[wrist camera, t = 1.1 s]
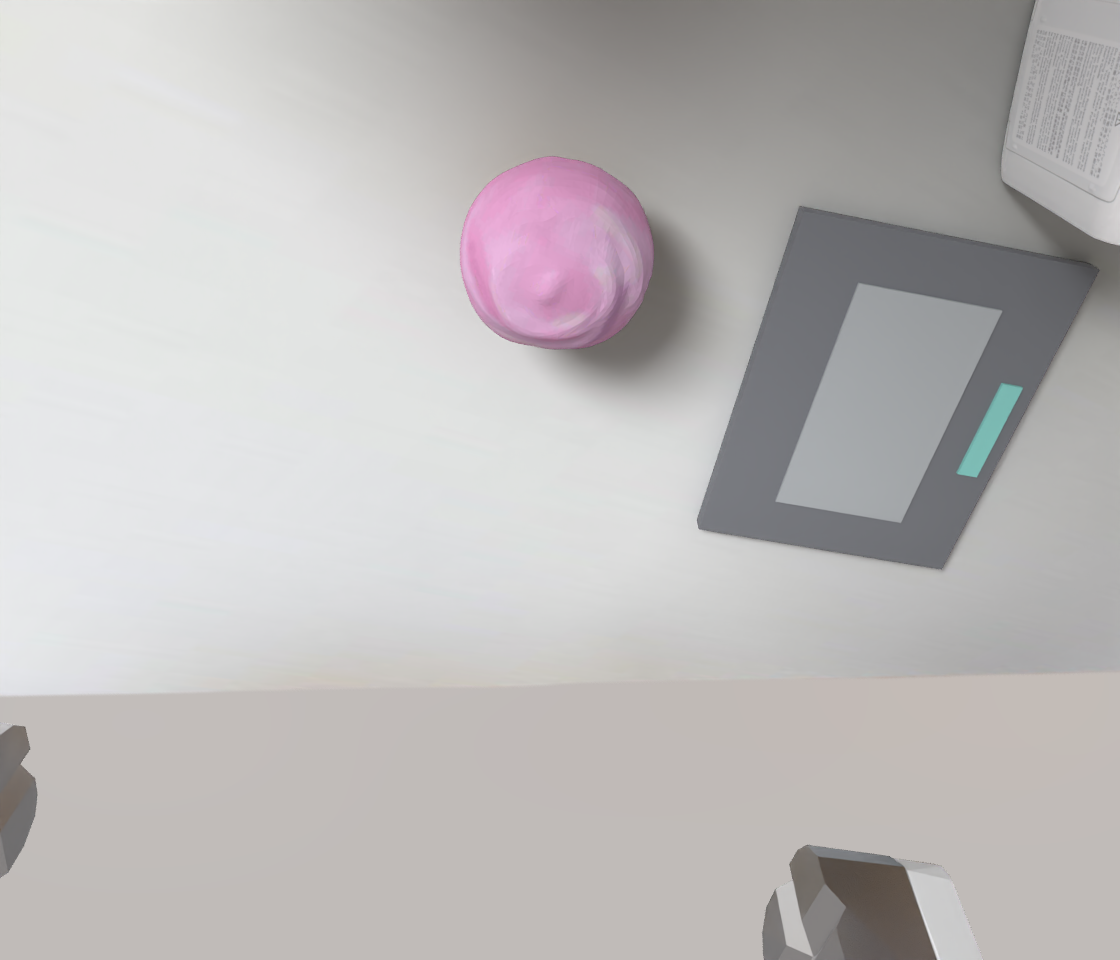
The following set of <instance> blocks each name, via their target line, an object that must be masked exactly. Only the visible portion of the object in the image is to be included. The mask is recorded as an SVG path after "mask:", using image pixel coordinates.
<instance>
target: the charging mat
mask: <svg viewBox="0 0 1120 960" xmlns="http://www.w3.org/2000/svg"><path fill="white" fill-rule="evenodd" d="M1098 272H1099V269H1097V268H1096V267H1094V266H1093V265H1091V264H1088V263H1083V262H1078V261H1073V260H1068V259H1063V258H1058V257H1053V256H1048V255H1043V254H1038V253H1033V252H1028V251H1023V250H1018V249H1013V248H1008V247H1003V246H998V245H993V244H988V243H983V242H977V241H972V240H967V239H962V238H957V237H952V236H947V235H942V234H937V233H932V232H927V231H922V230H917V229H912V228H907V227H902V226H897V225H892V224H887V223H882V222H877V221H872V220H867V219H862V218H857V217H852V216H847V215H842V214H837V213H831V212H826V211H821V210H816V209H811V208H806V207H801V206H800V207H799V210H798V213H797V216H796V219H795V222H794V225H793V229H792V232H791V235H790V238H789V241H788V244H787V247H786V250H785V253H784V256H783V259H782V262H781V265H780V268H779V271H778V274H777V277H776V280H775V283H774V286H773V290H772V293H771V296H770V299H769V302H768V305H767V308H766V311H765V314H764V317H763V320H762V323H761V326H760V329H759V332H758V335H757V338H756V341H755V344H754V347H753V351H752V354H751V357H750V360H749V363H748V366H747V369H746V372H745V375H744V378H743V381H742V384H741V387H740V390H739V393H738V396H737V399H736V402H735V405H734V408H733V412H732V415H731V418H730V421H729V424H728V427H727V430H726V433H725V436H724V439H723V442H722V445H721V448H720V451H719V454H718V457H717V460H716V463H715V466H714V470H713V473H712V476H711V479H710V482H709V485H708V488H707V491H706V494H705V497H704V500H703V503H702V506H701V509H700V512H699V515H698V518H697V523H698V528H699V529H701V530H707V531H713V532H719V533H725V534H731V535H737V536H743V537H749V538H755V539H761V540H767V541H773V542H779V543H785V544H791V545H797V546H803V547H809V548H815V549H821V550H827V551H833V552H839V553H845V554H851V555H857V556H863V557H869V558H875V559H881V560H887V561H893V562H899V563H905V564H911V565H917V566H924V567H930V568H936V569H942V568H943V566H944V564H945V562H946V560H947V558H948V556H949V555H950V553H951V551H952V549H953V547H954V545H955V543H956V541H957V539H958V537H959V536H960V534H961V532H962V530H963V528H964V526H965V524H966V522H967V520H968V519H969V517H970V515H971V513H972V511H973V509H974V507H975V505H976V503H977V501H978V500H979V498H980V496H981V494H982V492H983V490H984V488H985V486H986V484H987V483H988V481H989V479H990V477H991V475H992V473H993V471H994V469H995V467H996V465H997V464H998V462H999V460H1000V458H1001V456H1002V454H1003V452H1004V450H1005V448H1006V447H1007V445H1008V443H1009V441H1010V439H1011V437H1012V435H1013V433H1014V431H1015V429H1016V428H1017V426H1018V424H1019V422H1020V420H1021V418H1022V416H1023V414H1024V412H1025V411H1026V409H1027V407H1028V405H1029V403H1030V401H1031V399H1032V397H1033V395H1034V393H1035V392H1036V390H1037V388H1038V386H1039V384H1040V382H1041V380H1042V378H1043V376H1044V375H1045V373H1046V371H1047V369H1048V367H1049V365H1050V363H1051V361H1052V359H1053V357H1054V356H1055V354H1056V352H1057V350H1058V348H1059V346H1060V344H1061V342H1062V340H1063V339H1064V337H1065V335H1066V333H1067V331H1068V329H1069V327H1070V325H1071V323H1072V321H1073V320H1074V318H1075V316H1076V314H1077V312H1078V310H1079V308H1080V306H1081V304H1082V303H1083V301H1084V299H1085V297H1086V295H1087V293H1088V291H1089V289H1090V287H1091V285H1092V284H1093V282H1094V280H1095V278H1096V276H1097V274H1098Z"/></svg>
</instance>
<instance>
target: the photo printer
mask: <svg viewBox="0 0 1120 960" xmlns="http://www.w3.org/2000/svg"><path fill="white" fill-rule="evenodd" d="M1001 177H1002V180H1003V181H1004V182H1005V183H1006V184H1007V185H1009V186H1011V187H1012V188H1014V189H1016V190H1017V191H1019V192H1021V193H1022V194H1024V195H1026V196H1027V197H1029V198H1030V199H1032V200H1034V201H1035V202H1037V203H1038V204H1040V205H1042V206H1043V207H1045V208H1046V209H1048V210H1050V211H1051V212H1053V213H1055V214H1056V215H1058V216H1059V217H1061V218H1062V219H1064V220H1066V221H1067V222H1069V223H1070V224H1072V225H1074V226H1075V227H1077V228H1078V229H1080V230H1082V231H1083V232H1085V233H1086V234H1088V235H1090V236H1091V237H1093V238H1095V239H1098V240H1101V241H1104V242H1106V243H1110V244H1114V245H1119V246H1120V0H1036V1H1035V5H1034V9H1033V13H1032V17H1031V21H1030V25H1029V29H1028V33H1027V37H1026V42H1025V46H1024V50H1023V55H1022V59H1021V63H1020V68H1019V73H1018V77H1017V82H1016V86H1015V91H1014V96H1013V101H1012V105H1011V110H1010V114H1009V120H1008V123H1007V129H1006V135H1005V140H1004V146H1003V153H1002V161H1001Z"/></svg>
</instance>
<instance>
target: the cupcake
mask: <svg viewBox="0 0 1120 960" xmlns="http://www.w3.org/2000/svg"><path fill="white" fill-rule="evenodd" d="M653 262H654V245H653V239H652V235H651V231H650V227H649V224H648V221H647V218H646V215H645V213H644V210H643V208H642V206H641V204H640V202H639V201H638V199H637V198H636V196H635V195H634V194H633V192H632V191H631V190H630V189H629V188H628V187H626V186H625V185H624V184H623V183H622V182H620V181H619V180H617V179H616V178H614V177H613V176H612V175H610V174H608V173H607V172H605V171H604V170H602V169H600V168H598V167H596V166H594V165H592V164H589V163H586V162H582V161H579V160H571V159H566V158H562V157H555V156H552V157H543V158H538V159H534V160H532V161H529V162H526V163H524V164H521V165H519V166H516V167H514V168H512V169H510V170H508V171H506V172H504V173H502V174H500V175H499V176H497V177H496V178H494V179H493V180H492V181H491V182H490V183H488V184H487V185H486V186H485V188H484V189H483V190H482V191H481V192H480V194H479V195H478V196H477V198H476V199H475V201H474V202H473V204H472V206H471V207H470V209H469V211H468V214H467V217H466V220H465V222H464V227H463V232H462V236H461V246H460V265H461V272H462V278H463V281H464V284H465V288H466V291H467V294H468V297H469V299H470V302H471V304H472V306H473V308H474V309H475V311H476V313H477V314H478V316H479V317H480V319H481V320H482V321H483V322H484V323H485V324H486V325H487V326H488V327H489V328H490V329H491V330H493V331H494V332H495V333H496V334H498V335H499V336H501V337H502V338H505V339H507V340H509V341H512V342H516V343H519V344H524V345H530V346H536V347H540V348H545V349H579V348H585V347H590V346H593V345H596V344H599V343H601V342H603V341H605V340H607V339H609V338H611V337H612V336H614V335H615V334H616V333H618V332H619V331H620V330H621V329H622V328H623V327H624V326H625V325H626V324H627V323H628V322H629V321H630V320H631V318H632V317H633V316H634V314H635V313H636V311H637V310H638V308H639V306H640V305H641V303H642V301H643V300H644V294H645V292H646V290H647V288H648V284H649V280H650V278H651V276H652V271H653Z"/></svg>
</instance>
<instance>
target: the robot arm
mask: <svg viewBox="0 0 1120 960" xmlns="http://www.w3.org/2000/svg"><path fill="white" fill-rule="evenodd" d="M29 750H30V746H29V741H28V737H27V733H26V729H25V727H24V726H18V725H13V724H7V723H1V722H0V878H1V877H2V876H4V875H5V874H7V873H8V872H9V870H10V868H11V867H12V865H13V863H14V862H15V860H16V858H17V857H18V855H19V853H20V852H21V850H22V848H23V846H24V844H25V842H26V838H27V836H28V833H29V830H30V828H31V825H32V822H33V820H34V817H35V811H36V803H37V788H36V781H35V778H34V777H33V776H32V775H31V774H30V773H29V772H28V771H27V770H26V769H25V768H24V767H23V766H22V765H21V762H22V761H23V759H24V758H25V756H26V755H27V753H28V752H29ZM790 869H791V874H792V879H793V880H792V881H790V882H788V883H786V884H784V885H782V886H780V887H778V888H776V889H775V891H774V893H773V895H772V897H771V899H770V901H769V903H768V905H767V907H766V913H765V919H764V926H763V933H762V934H763V956H764V960H984V959H983V957H982V954H981V952H980V950H979V947H978V944H977V942H976V939H975V937H974V935H973V932H972V929H971V927H970V924H969V922H968V919H967V917H966V914H965V912H964V910H963V907H962V905H961V902H960V899H959V897H958V894H957V892H956V889H955V887H954V885H953V882H952V880H951V877H950V876H949V874H948V873H947V872H946V871H945V870H944V868H943V867H942V866H940V865H936V864H931V863H924V862H917V861H910V860H902V859H894V858H891V857H890V856H884V855H877V854H870V853H862V852H855V851H848V850H840V849H833V848H826V847H819V846H811V845H806V846H804V847H802V848H800V849H798V850H797V852H796V854H795V855H794V857H793V859H792V861H791V862H790Z"/></svg>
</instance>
